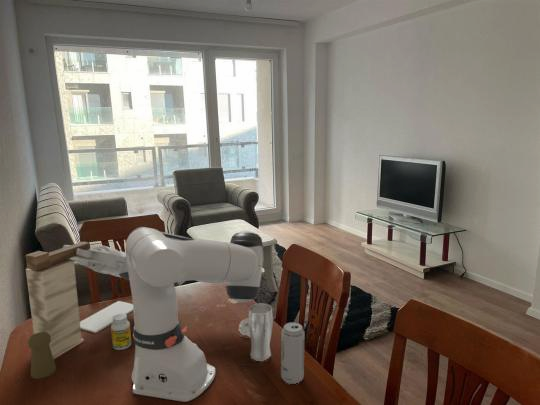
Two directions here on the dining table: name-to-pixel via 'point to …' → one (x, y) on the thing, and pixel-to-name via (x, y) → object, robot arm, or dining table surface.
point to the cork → (41, 355)
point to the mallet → (53, 256)
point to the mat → (105, 316)
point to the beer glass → (260, 330)
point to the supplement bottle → (121, 332)
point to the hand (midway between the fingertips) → (70, 250)
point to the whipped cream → (242, 327)
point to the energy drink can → (292, 353)
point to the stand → (55, 305)
